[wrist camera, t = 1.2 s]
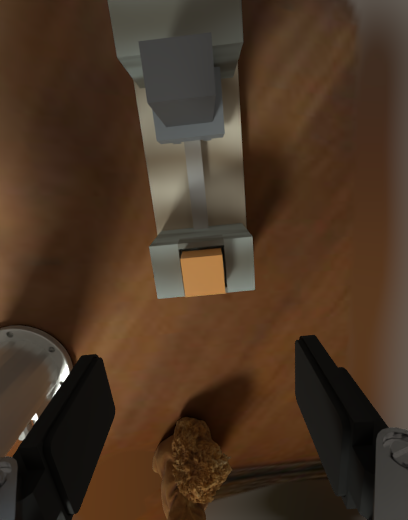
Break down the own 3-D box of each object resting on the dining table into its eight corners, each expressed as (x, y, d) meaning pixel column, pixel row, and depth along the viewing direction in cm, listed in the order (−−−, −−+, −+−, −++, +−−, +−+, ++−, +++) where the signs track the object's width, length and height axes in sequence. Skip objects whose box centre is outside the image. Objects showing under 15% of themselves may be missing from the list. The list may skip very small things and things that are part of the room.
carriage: (222, 139, 27) (234, 112, 16) (162, 145, 27) (133, 124, 16) (217, 81, 25) (228, 7, 14) (155, 89, 25) (116, 21, 14)
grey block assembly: (246, 260, 32) (260, 289, 24) (165, 268, 33) (152, 299, 25) (233, 34, 26) (247, -32, 17) (131, 46, 26) (98, -12, 18)
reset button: (223, 283, 25) (225, 293, 22) (187, 286, 25) (185, 297, 23) (220, 247, 24) (222, 254, 21) (182, 251, 24) (180, 258, 22)
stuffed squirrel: (151, 465, 43) (129, 584, 30) (167, 397, 39) (149, 502, 26) (211, 475, 44) (214, 596, 31) (233, 409, 40) (246, 517, 27)
